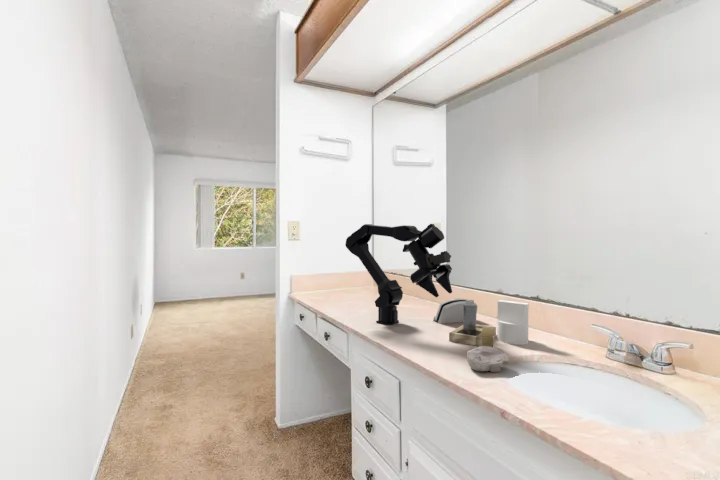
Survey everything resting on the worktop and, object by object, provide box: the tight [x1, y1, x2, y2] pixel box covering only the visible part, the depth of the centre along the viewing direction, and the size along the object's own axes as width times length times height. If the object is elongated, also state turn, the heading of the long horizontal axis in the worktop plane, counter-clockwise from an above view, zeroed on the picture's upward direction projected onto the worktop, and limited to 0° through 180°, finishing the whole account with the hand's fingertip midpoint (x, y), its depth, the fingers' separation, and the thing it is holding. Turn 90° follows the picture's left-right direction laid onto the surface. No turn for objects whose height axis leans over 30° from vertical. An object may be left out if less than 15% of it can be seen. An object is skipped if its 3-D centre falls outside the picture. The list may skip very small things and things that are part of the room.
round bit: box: [462, 299, 477, 336], centre depth 114 cm, size 4×4×12 cm
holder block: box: [448, 323, 497, 347], centre depth 117 cm, size 10×16×2 cm, turn 145°
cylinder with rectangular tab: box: [496, 299, 530, 345], centre depth 114 cm, size 9×9×12 cm
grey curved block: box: [432, 298, 478, 325], centre depth 139 cm, size 17×5×10 cm, turn 111°
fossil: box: [466, 346, 510, 373], centre depth 90 cm, size 9×6×10 cm
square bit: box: [482, 325, 494, 348], centre depth 102 cm, size 3×3×7 cm
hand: (444, 294), depth 122 cm, fingers open, 9 cm apart
